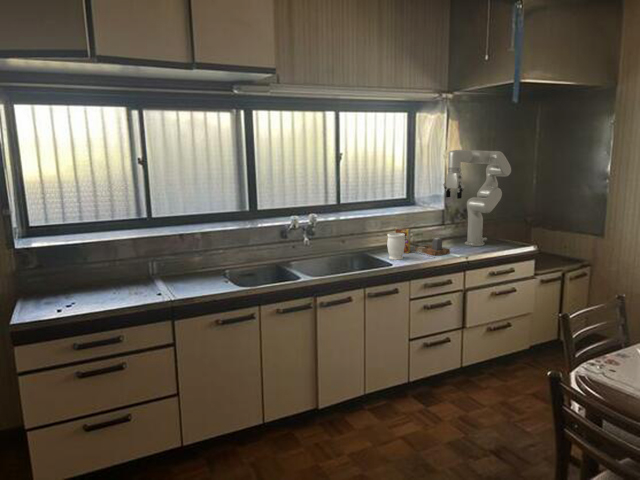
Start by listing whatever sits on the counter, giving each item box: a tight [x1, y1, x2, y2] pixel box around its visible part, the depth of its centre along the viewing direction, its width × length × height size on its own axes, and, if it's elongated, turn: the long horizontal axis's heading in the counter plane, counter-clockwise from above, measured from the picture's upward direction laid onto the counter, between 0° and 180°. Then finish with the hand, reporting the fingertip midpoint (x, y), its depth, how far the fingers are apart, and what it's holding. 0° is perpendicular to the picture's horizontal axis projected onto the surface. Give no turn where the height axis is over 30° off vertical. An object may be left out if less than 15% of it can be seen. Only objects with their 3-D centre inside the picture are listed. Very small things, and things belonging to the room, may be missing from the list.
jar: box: [386, 232, 405, 261], centre depth 293 cm, size 11×10×15 cm
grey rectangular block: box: [432, 237, 443, 251], centre depth 299 cm, size 4×4×11 cm
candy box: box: [394, 227, 411, 254], centre depth 309 cm, size 9×4×15 cm, turn 60°
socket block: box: [414, 244, 451, 259], centre depth 303 cm, size 12×18×4 cm
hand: (453, 197), depth 308 cm, fingers open, 9 cm apart
